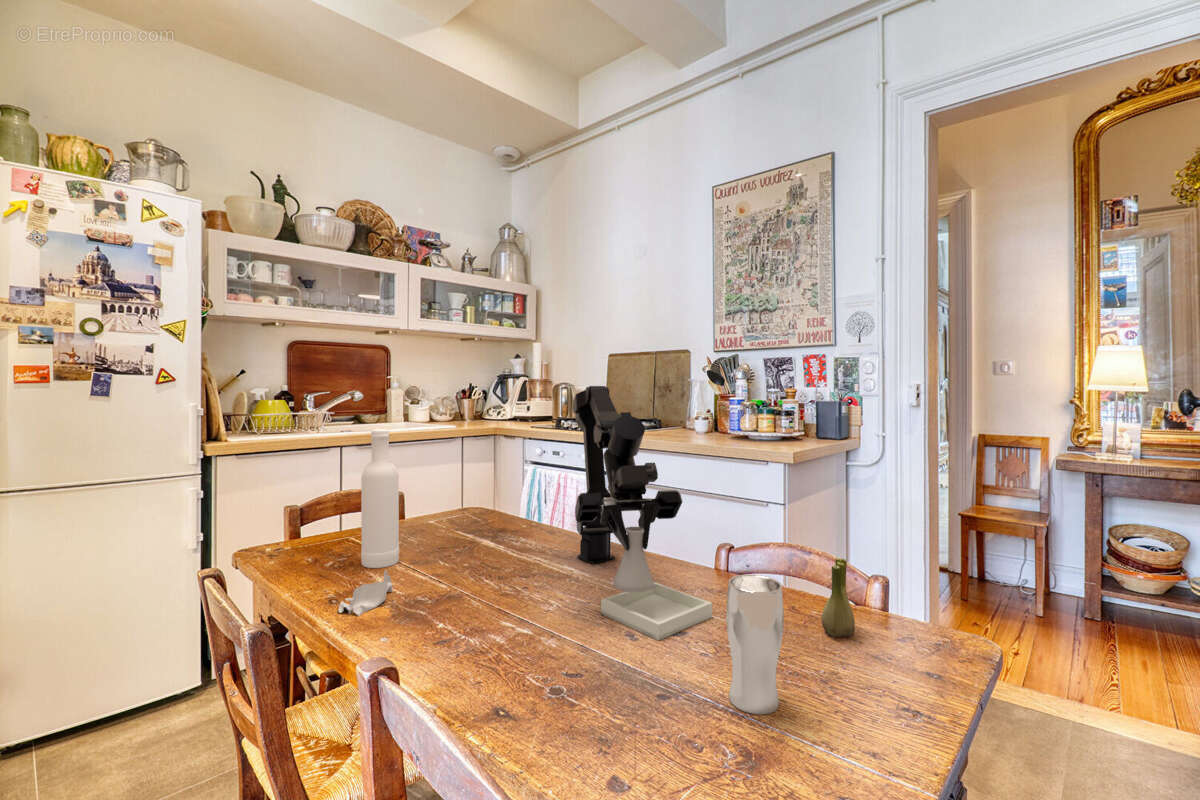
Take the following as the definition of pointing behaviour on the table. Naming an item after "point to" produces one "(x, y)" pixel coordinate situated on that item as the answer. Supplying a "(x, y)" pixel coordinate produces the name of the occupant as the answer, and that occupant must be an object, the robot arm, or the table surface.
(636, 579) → the flask
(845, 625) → the fennel bulb
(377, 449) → the bottle
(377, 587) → the wrapped candy
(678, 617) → the tray
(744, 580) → the beer glass
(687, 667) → the table surface
